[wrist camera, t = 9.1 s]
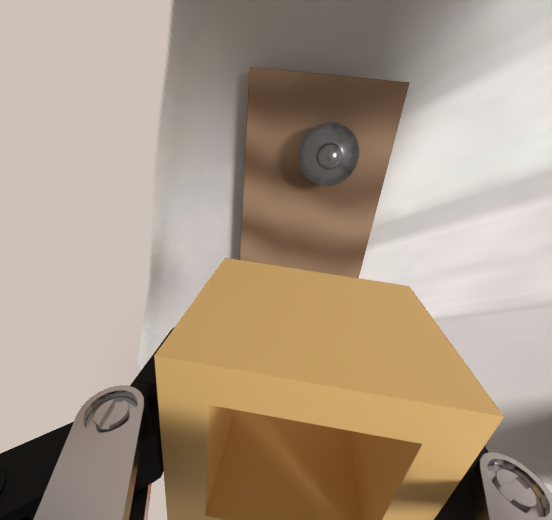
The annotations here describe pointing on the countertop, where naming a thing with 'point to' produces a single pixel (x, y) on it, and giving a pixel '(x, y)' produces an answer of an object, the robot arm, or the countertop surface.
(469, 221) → the countertop surface
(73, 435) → the robot arm
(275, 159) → the board
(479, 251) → the countertop surface
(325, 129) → the round drawer knob
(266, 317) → the hollow square block
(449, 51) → the countertop surface
